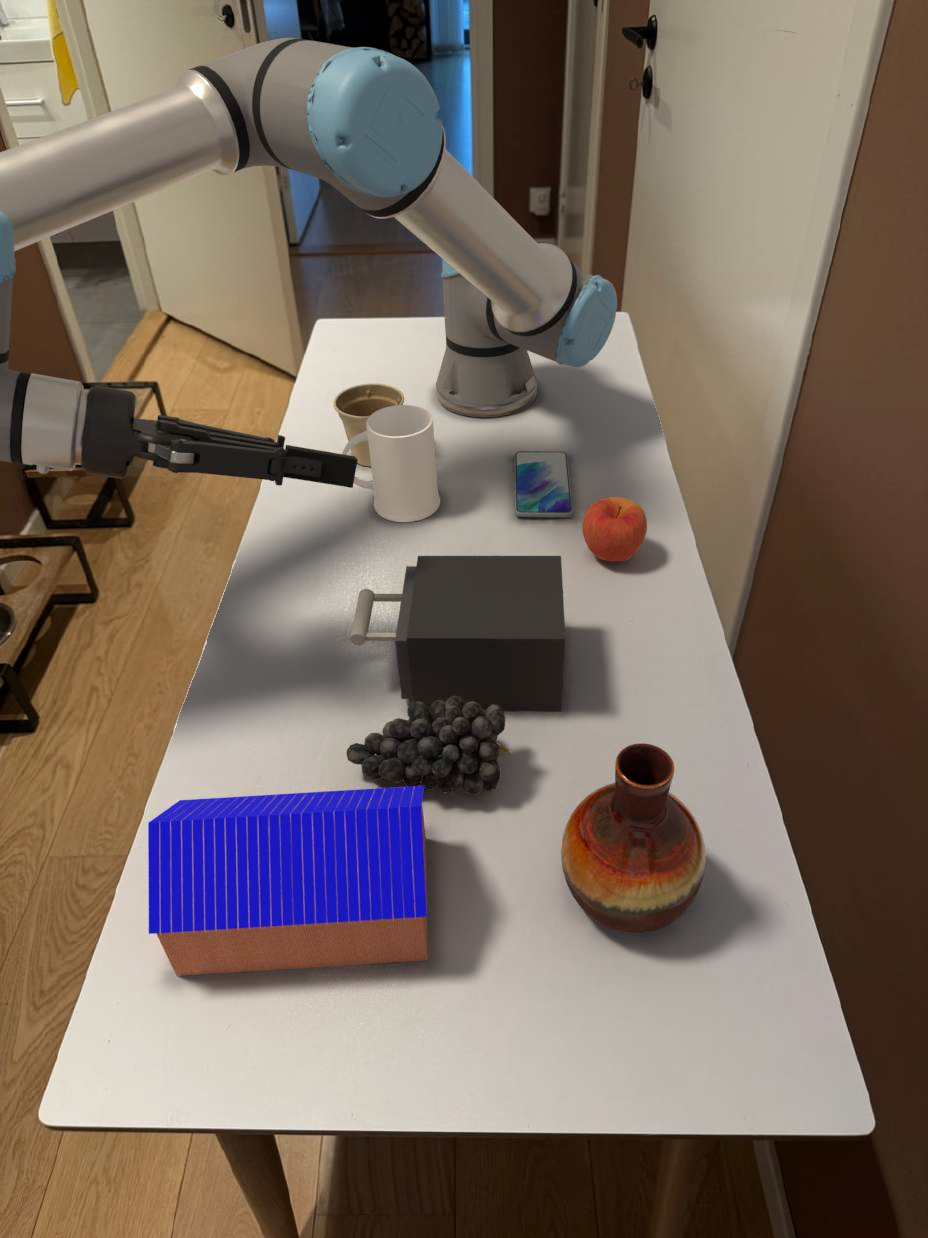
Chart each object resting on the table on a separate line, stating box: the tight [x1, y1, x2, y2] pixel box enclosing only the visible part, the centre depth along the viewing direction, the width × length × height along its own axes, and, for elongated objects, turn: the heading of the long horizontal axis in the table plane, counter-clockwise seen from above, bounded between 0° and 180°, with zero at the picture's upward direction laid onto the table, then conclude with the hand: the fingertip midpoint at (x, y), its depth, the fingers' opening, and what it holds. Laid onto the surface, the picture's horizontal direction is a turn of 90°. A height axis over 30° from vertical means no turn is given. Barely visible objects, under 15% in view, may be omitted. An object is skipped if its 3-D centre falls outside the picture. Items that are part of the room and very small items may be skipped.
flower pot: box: [333, 382, 405, 468], centre depth 126 cm, size 9×9×9 cm
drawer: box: [349, 565, 417, 700], centre depth 93 cm, size 18×11×8 cm, turn 87°
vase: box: [560, 742, 707, 934], centre depth 70 cm, size 11×11×15 cm
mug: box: [342, 404, 441, 523], centre depth 115 cm, size 12×8×12 cm
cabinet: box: [406, 555, 566, 712], centre depth 92 cm, size 15×13×10 cm
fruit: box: [345, 696, 512, 795], centre depth 83 cm, size 9×8×15 cm
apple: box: [581, 496, 648, 562], centre depth 107 cm, size 7×7×8 cm
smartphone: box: [513, 450, 574, 518], centre depth 121 cm, size 7×1×15 cm
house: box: [147, 785, 429, 977], centre depth 71 cm, size 12×20×12 cm, turn 93°
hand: (353, 471), depth 87 cm, fingers closed
